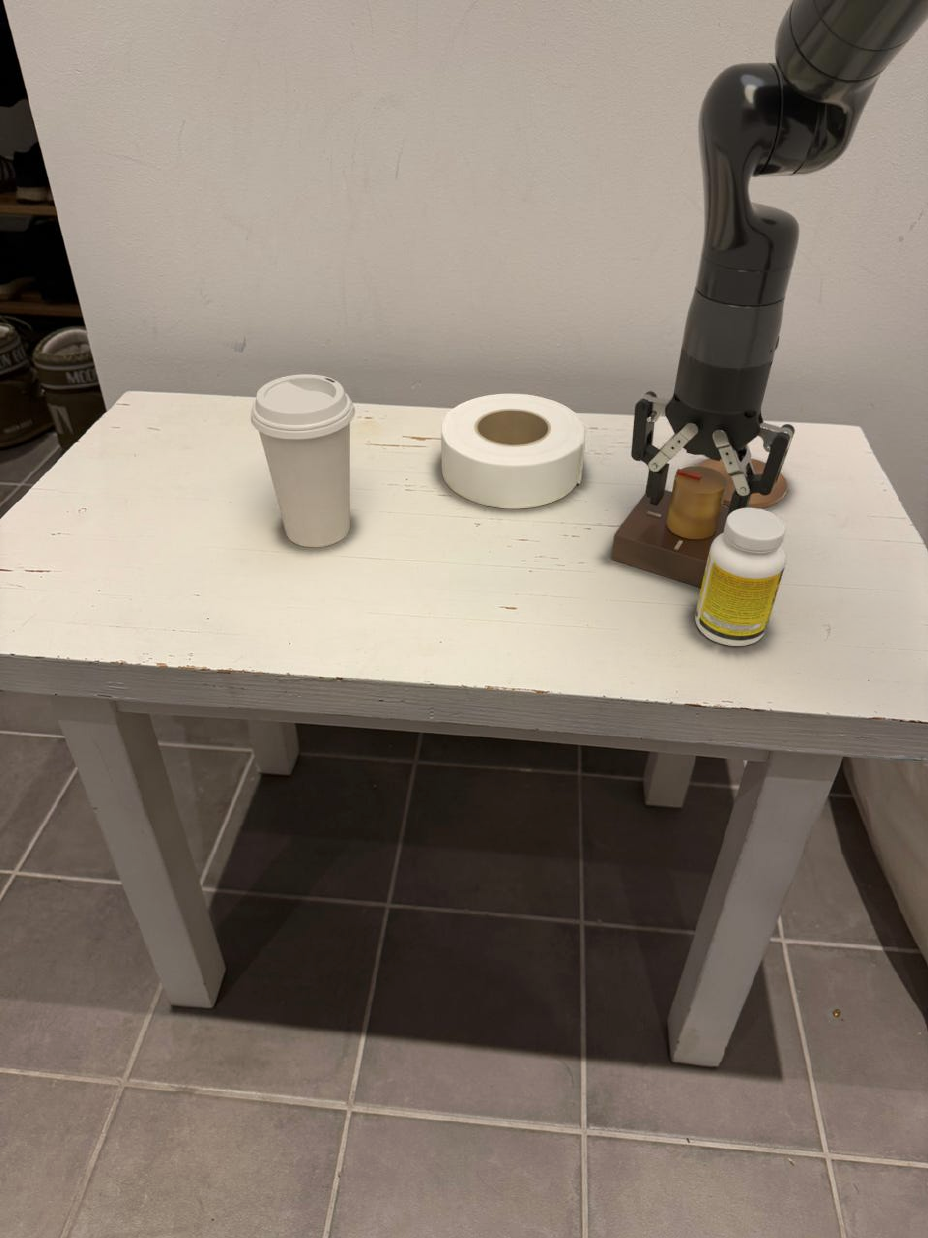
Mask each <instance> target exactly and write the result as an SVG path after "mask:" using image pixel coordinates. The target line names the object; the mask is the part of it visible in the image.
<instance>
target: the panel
mask: <svg viewBox="0 0 928 1238" xmlns="http://www.w3.org/2000/svg"><path fill="white" fill-rule="evenodd" d="M671 494H672V490H671V491H670V490H668V489H665V492H664V496H663V498H662V500H661V501H660V503H659V504H658V505H657V506H656V505H652V504H650V498H648V497H646V493H645V492H644V494H643V495H642V496H641V498H640V499H639V501H638V502H637V503H636V505H635V506H634V507H633V509H632V510H631V511H630V512H629V514H628V515H627V516H626V518H625V519H624V521H623V522H621V525H620V526H619V527H618V528H617V529H616V530H615V531H616V532H614V534H613V540H612V548H611V554H610V555H611V556H610V560H613V561H617V562H618V563H622V564H624V565H629V566H632V567H634V568H638V569H641V570H644V571H648V572H650V573H654V574H657V575H659V576H662V577H663V576H664V577H666V578H668V579H669V578H670V579H672V580H675V581H679V582H682V583H685V584H688V585H691V586H695V587H698V588H701V586H702V581H703V577H704V573H705V568H706V564H707V560H708V555H709V551H710V548H711V545H712V543H713V541H714V540H715V538H716V537H718V536H719V535H720V534H722V533H724V528H725V523H726V519H727V515H728V511H729V506H726V505H722V509H721V513H720V518H719V522H718V526H717V530H716V532H715V534H713V535H712V536H711V537H708V538H705V539H697V540H696V539H687V538H683V537H680V536H678V535H676V534H674V533H673V532H672V531H670V529H669V528H668V526H667V523H666V521H667V516H668V510H669V505H670V499H671Z"/></svg>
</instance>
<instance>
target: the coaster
mask: <svg viewBox="0 0 928 1238" xmlns="http://www.w3.org/2000/svg"><path fill="white" fill-rule="evenodd" d="M751 462H752V465H753V467H754V470H755V473H756V474H762V473H763V470H764V467H765V464H766V462H764V461H762V460H760V459H759V460H758V459H756V458H752V457H751ZM697 466H702V467H708V468H711V469H714V470H716V471H718V472H720V473H721V474H723V475H724V476H725V477H726V479H727V487H726V492H725V496H724V500H723V506H727V507H729V506H730V502H731V498H732V494H733V492H734V491H735V486H734V483H733V480H732V478H731V476H730V475H728V473H727V471H726V468H725V466H724V463H723V460H722V459H721V460H720V461H716V460H712V459H710V458H707V459H705V460H703V461H701V462H700V463H698V464H697ZM787 490H788V482H787V479H786V478H785V476H784V475H783V473H781V472H780V475H779V478H778V480H777V482H776V483H775V485H774V486H773V489H772V491H771V493H770V494H769V495H766V496H764V495H761V494H760V493H754V494H752V495H751V499H750V503H749V506H748V508H758V509H763V508H767V507H770V506H773V505H775V504H777V503H779V502H781V501H782V500H783V499H784V497H785V496H786V493H787Z"/></svg>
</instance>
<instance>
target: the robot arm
mask: <svg viewBox="0 0 928 1238" xmlns="http://www.w3.org/2000/svg"><path fill="white" fill-rule="evenodd" d="M927 20H928V0H791V2H790V4H789V6H788V8H787V9H786V11H785V12H784V15H783V17H782V19H781V21H780V23H779V26H778V29H777V32H776V36H775V41H774V58H775V62H741V63H737V64H732V65H730V66H728V67H726V68H724V70H722V71H721V72H719V74H717V76H716V77H715V79H714V80H713V81H712V82H711V84H710V85H709V87H708V89H707V91H706V92H705V95H704V98H703V100H702V103H701V105H700V109H699V115H698V121H697V122H698V123H697V134H698V136H697V137H698V138H697V139H698V148H699V149H698V150H699V157H700V166H701V174H702V175H701V177H702V189H703V190H702V191H703V193H702V194H703V238H702V239H703V240H702V245H701V252H700V257H699V263H698V268H697V274H696V280H695V286H694V290H693V295H692V297H691V301H690V304H689V307H688V311H687V314H686V318H685V324H684V325H685V326H684V329H683V330H684V331H683V336H682V343H681V348H680V353H679V360H678V365H677V372H676V375H675V382H674V389H673V395H672V397H671V398H670V399H666V398H662V397H658V396H657V394H656V393H655V392H654V391H651V390H648V391H647V392H645V393H644V394H643V395H642V397H641V398H639V400H638V401H637V403H635V406H634V416H633V426H632V438H631V439H632V440H631V451H630V456H631V458H632V460H633V461H636V462H642V463H644V464H645V465H646V466H647V468H648V472H647V473H648V474H647V480H646V485H645V486H646V487H645V492H644V494H645V493H646V497H648V498H650V504H652V505H656V506H657V505H658V504H659V503H660V501H661V500H662V498H663V496H664V492H665V490H666V487H667V480H668V475H669V469H670V463H669V461H671V460H672V459H673V458H674V457H675V456H676V455H677V454H678V453H679V452H680V451H681V450H682V449H684V450H685V453H686V454H689V455H694V456H704V457H706V458H707V459H712V460H716V461H720V460H721V459H722V460H723V463H724V466H725V468H726V471H727V473H728V475H730V476H731V478H732V480H733V483H734V486H735V491H734V492H733V494H732V498H731V502H730V506H728V508H729V511H728V515H729V514H730V513H731V512H733V511H735V510H737V509H741V508H748V506H749V503H750V499H751V495H752V494H754V493H760V494H761V495H764V496H766V495H769V494H770V493H771V491H772V489H773V486H774V485H775V483H776V482H777V480H778V478H779V475H780V473H781V472H782V470H783V467H784V464H785V461H786V458H787V455H788V452H789V450H790V447H791V443H792V441H793V438H794V435H795V431H796V430H795V427H794V426H793V425H792V424H789V423H785V424H783V425H782V426H781V427H780V426H777V425H774V424H770V423H767V422H764V418H763V416H762V407H763V406H762V405H763V402H764V398H765V394H766V389H767V385H768V383H769V378H770V374H771V369H772V365H773V361H774V359H775V358H774V357H775V353H776V351H777V349H778V347H779V343H780V333H781V328H782V325H783V316H784V305H785V299H786V295H787V291H788V286H789V282H790V278H791V274H792V270H793V266H794V262H795V258H796V254H797V249H798V245H799V240H800V224H799V222H798V220H797V219H796V217H795V216H794V215H793V214H791V213H790V212H788V211H787V210H784V209H781V208H778V207H776V206H775V207H774V206H770V205H766V204H762V203H757V202H752V201H751V196H750V189H749V188H750V181H751V178H761V177H763V178H764V177H766V178H767V177H796V176H797V177H799V176H801V177H802V176H807V175H812V174H816V173H818V172H820V171H823V170H824V169H826V168H828V167H829V166H831V165H832V164H833V163H835V162H836V161H837V160H839V159H840V158H841V157H842V156H843V155H844V154H845V152H846V151H847V149H848V148H849V146H850V144H851V142H852V140H853V138H854V136H855V133H856V130H857V127H858V124H859V122H860V119H861V117H862V115H863V112H864V110H865V108H866V106H867V104H868V101H869V100H870V98H871V96H872V94H873V91H874V89H875V87H876V85H877V83H878V81H879V78H880V76H881V75H882V73H883V72H884V71H885V70H886V68H887V67H889V65H890V64H891V63H892V62H893V60H894V59H895V58H896V57H897V56H898V54H900V52H901V51H902V50H903V49H904V47H906V45H907V44H908V43H909V42H910V41H911V40H912V39H913V37H914V36H915V34H916V33H917V32H918V31H919V30H920V29H921V28H922V26H923V25H924V24H925V23H926V21H927ZM662 414H665V417H666V419H667V421H668V423H669V426H671V430H672V431H673V434H672V435H671V437H670V438H669V439H668V440H667V441H666V442H665V443H664V444H663V445H662V446H661V447H660V448H658V447H657V446H655V445H654V444H653V443H654V442H653V441H654V434H655V433H654V432H655V423H656V422H657V421H658V420H659V419H660V418H661V416H662ZM757 437H759V438H761V440H762V442H763V443H762V447H763V449H764V451H765V453H768V456H767V459H766V461H765V463H766V464H765V467H764V470H763V473H762V474H756V473H755V470H754V467H753V465H752V462H751V458H752V453H751V450H750V447H749V444H750V443H751V442H752V441H753V440H755V439H756V438H757ZM728 515H727V517H728ZM726 520H727V519H726ZM725 524H726V523H725Z"/></svg>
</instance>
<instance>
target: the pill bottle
mask: <svg viewBox="0 0 928 1238" xmlns="http://www.w3.org/2000/svg"><path fill="white" fill-rule="evenodd" d="M786 529H787V527H786V524H785V522H784V521H783V520H782V518H781V517H779V516H778V515H777V514H775V513H774V512H771V511H769V510H766V509H763V508H741V509H737V510H735V511H733V512H731V513H730V514H729V515H728V517H727V520H726V524H725V528H724V533H722V534H720V535H719V536H718V537H716V538H715V540H714V541H713V543H712V545H711V548H710V551H709V555H708V560H707V564H706V568H705V573H704V577H703V581H702V586H701V587H700V590H699V595H698V598H697V599H698V600H697V605H696V609H695V615H694V619H695V624H696V626H697V628H698V629H699V631H700V632H701V634H703V635H704V636H705V637H706V638H707V639H709V640H711V641H713V642H716V643H718V644H720V645H721V644H722V645H725V646H730V647H743V646H744V647H745V646H748V645H749V646H750V645H752V644H754V643H755V644H756V643H757V642H759V641H760V640H761V639H762V638H763V636H764V635H765V633H766V630H767V628H768V625H769V621H770V618H771V615H772V611H773V608H774V604H775V601H776V598H777V595H778V592H779V589H780V585H781V581H782V578H783V575H784V571H785V568H786V564H787V554H786V550H785V548H784V546H783V545H782V544H783V542H784V538H785V534H786Z"/></svg>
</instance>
